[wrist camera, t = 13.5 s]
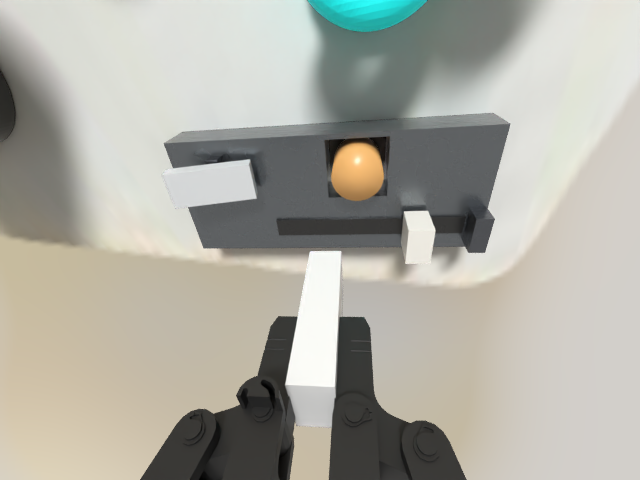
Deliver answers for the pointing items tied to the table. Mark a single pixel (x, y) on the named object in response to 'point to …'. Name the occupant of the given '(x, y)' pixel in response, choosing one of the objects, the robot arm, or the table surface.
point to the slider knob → (417, 237)
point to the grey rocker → (210, 183)
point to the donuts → (366, 12)
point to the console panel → (334, 210)
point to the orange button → (357, 169)
